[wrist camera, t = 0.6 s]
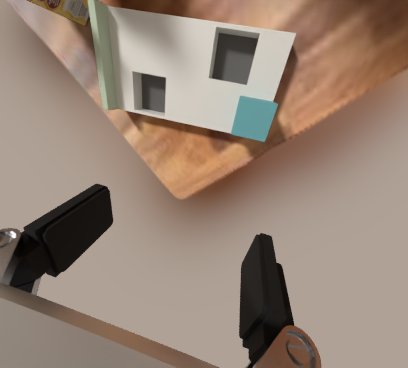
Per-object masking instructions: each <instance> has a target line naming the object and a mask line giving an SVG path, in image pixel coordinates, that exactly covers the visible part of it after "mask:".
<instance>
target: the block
mask: <svg viewBox="0 0 408 368" xmlns="http://www.w3.org/2000/svg"><path fill="white" fill-rule="evenodd" d="M277 106H278V104H277V103H275V102H272V101H267V100H262V99H257V98H251V97H246V96H240V98H239V102H238V106H237V110H236V114H235V118H234V123H233V127H232V131H231V135H235V136H240V137H244V138H249V139H253V140H258V141H263V142H265V140H266V137H267V134H268V132H269V129H270V126H271V123H272V120H273V118H274V115H275V112H276V109H277Z"/></svg>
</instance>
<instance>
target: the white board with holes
mask: <svg viewBox="0 0 408 368" xmlns="http://www.w3.org/2000/svg"><path fill="white" fill-rule="evenodd" d="M88 7H89V14H90V21H91V28H92V35H93V42H94V49H95V56H96V63H97V70H98V77H99V84H100V91H101V98H102V105H103V109H105V110H113V109H120V110H125V111H129V112H134V113H139V114H143V115H148V116H152V117H157V118H162V119H166V120H171V121H175V122H180V123H185V124H189V125H194V126H198V127H203V128H208V129H212V130H217V131H221V132H226V133H231V131H232V127H233V123H234V118H235V114H236V110H237V106H238V102H239V98H240V96H246V97H251V98H257V99H262V100H267V101H272V102H273V100H274V97H275V94H276V91H277V89H278V86H279V83H280V80H281V77H282V74H283V71H284V68H285V65H286V62H287V59H288V56H289V53H290V50H291V47H292V44H293V41H294V38H295V35H296V33H290V32H283V31H276V30H269V29H262V28H255V27H249V26H242V25H235V24H228V23H221V22H214V21H207V20H201V19H194V18H187V17H180V16H173V15H166V14H159V13H152V12H146V11H139V10H132V9H125V8H118V7H111V6H106V5H105V4H103V3H101V2H100V1H98V0H88Z"/></svg>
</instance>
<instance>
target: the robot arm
mask: <svg viewBox="0 0 408 368" xmlns="http://www.w3.org/2000/svg"><path fill="white" fill-rule="evenodd" d="M112 223H113V215H112V207H111V199H110V191H109V190H108V188H107V187H106V186H103V185H100V184H95V185H93V186H91V187H90V188H88V189H87V190H85V191H83V192H82V193H80V194H78V195H77V196H75V197H73V198H72V199H70V200H68V201H67V202H65V203H63V204H62V205H60V206H58V207H57V208H55V209H53V210H52V211H50V212H48V213H47V214H45V215H43V216H42V217H40V218H38V219H37V220H35V221H33V222H32V223H30V224H29V225H27V226H25V227H24V230H25V231H24V232H22V233H21V232H20V231H19V230H17V229H13V228H8V229H1V230H0V368H219V367H216V366H214V365H212V364H209V363H207V362H204V361H202V360H200V359H197V358H195V357H192V356H190V355H188V354H185V353H183V352H180V351H178V350H175V349H172V348H170V347H168V346H165V345H163V344H160V343H157V342H155V341H152V340H149V339H147V338H145V337H142V336H140V335H137V334H135V333H132V332H129V331H127V330H124V329H122V328H119V327H117V326H114V325H111V324H109V323H106V322H103V321H101V320H98V319H96V318H93V317H91V316H88V315H86V314H83V313H80V312H78V311H75V310H73V309H70V308H67V307H65V306H62V305H60V304H57V303H54V302H52V301H49V300H47V299H44V298H41V297H39V296H36V294H37V291H38V287H39V283H40V280H41V276H42V275H43V274H45V273H47V274H48V275H51V276H53V277H56V276H58V275H59V274H60V273H61V272H64V271H65V270H66V269H67V268H68V267H70V265H72V264H73V262H75V260H77V259H78V258H79V257H80V256H81V255H82V254H83V253H84V252H85V251H86V250H87V249H88V248H89V247H90V246H91V245H92V244H93V243H94V242H95V241H96V240H97V239H98V238H99V237H100V236H101V235H102V234H103V233H104V232H105V231H106V230H107V229H108V228H109V227H110V226H111V225H112ZM239 327H240V329H239V336H240V338H242V339H243V347H245V348H248V349H249V359H250V362H249V364H248V365H247V366H246V368H321V359H320V356H319V353H318V350H317V348H316V346H315V344H314V343H313V341H312V340H311V339H310V337H309V336H308V335H307V334H306V333H305V332H304V331H303V330H301V329H300V328H298V327H296V326H294V321H293V317H292V312H291V307H290V302H289V297H288V293H287V288H286V283H285V278H284V273H283V269H282V266H281V264H279V263H276V257H275V252H274V246H273V241H272V237H271V236H269V235H266V234H263V233H261V234H260V235H256V236H255V239H254V241H253V243H252V244H251V247H250V248H249V251H248V252H247V254H246V256H245V259H244V261H243V262H242V266H241V291H240V325H239Z"/></svg>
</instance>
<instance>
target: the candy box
mask: <svg viewBox="0 0 408 368" xmlns="http://www.w3.org/2000/svg"><path fill="white" fill-rule="evenodd" d="M27 1H29V2H32V3H34V4H36V5H39V6H41V7H43V8H45V9H47V10H50V11H52V12H54V13H57V14H59V15H61V16H64V17H66V18H68V19H70V20H73V21H75V22H77V23H80V24H82V25H84V26H85V25H86V23H87V20H88V18H89V15H90V14H89V7H88V0H27Z"/></svg>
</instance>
